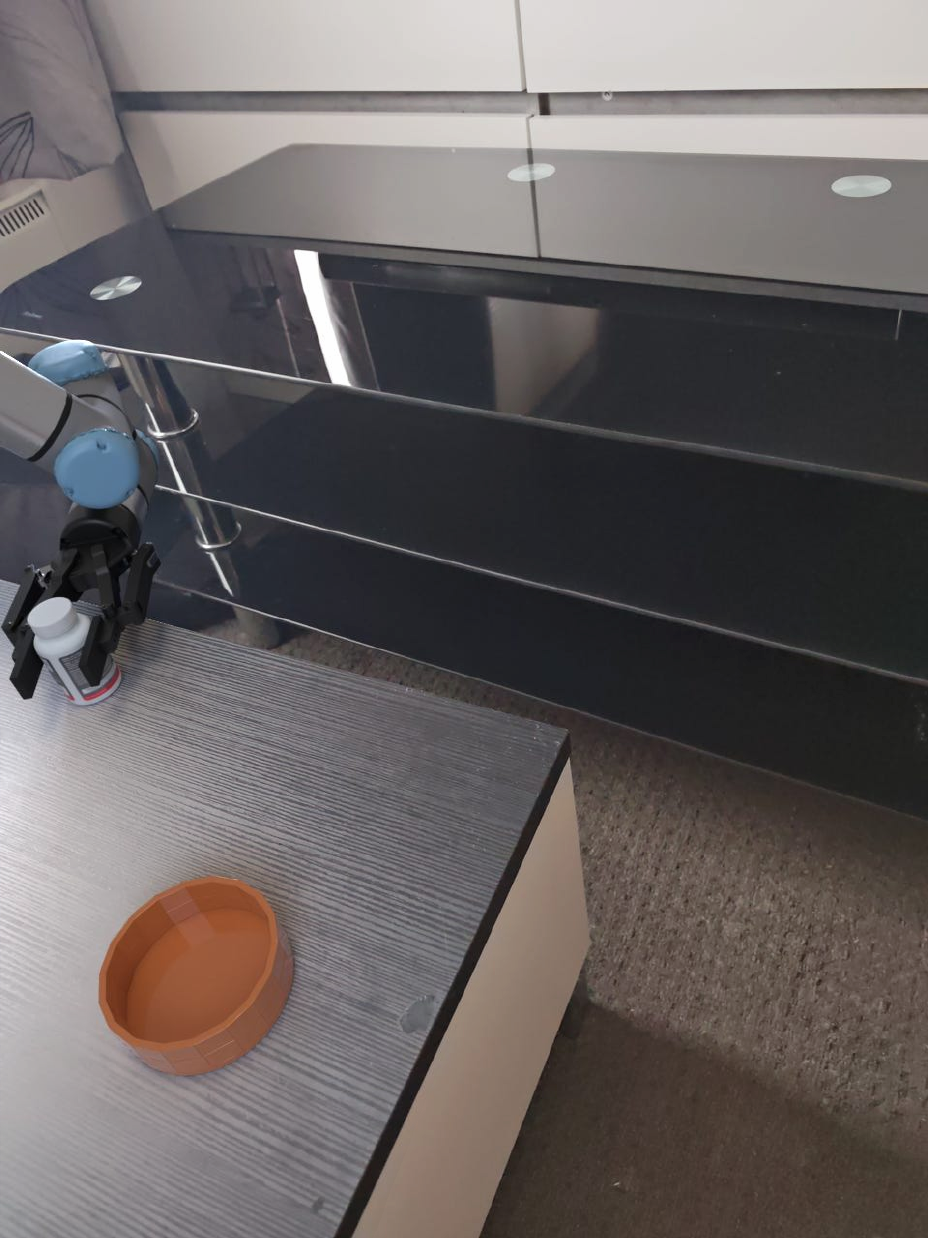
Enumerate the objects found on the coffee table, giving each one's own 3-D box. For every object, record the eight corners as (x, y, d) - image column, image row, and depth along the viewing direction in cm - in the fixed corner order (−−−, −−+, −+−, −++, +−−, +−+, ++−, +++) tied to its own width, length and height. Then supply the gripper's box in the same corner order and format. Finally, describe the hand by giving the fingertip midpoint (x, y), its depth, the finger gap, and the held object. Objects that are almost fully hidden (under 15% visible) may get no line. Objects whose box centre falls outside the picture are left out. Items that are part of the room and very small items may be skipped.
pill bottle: (129, 663, 90) (87, 588, 83) (113, 704, 86) (67, 629, 79) (78, 669, 90) (31, 595, 84) (59, 710, 86) (9, 635, 80)
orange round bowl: (86, 1039, 62) (59, 1012, 59) (192, 886, 69) (173, 856, 67) (229, 1106, 57) (207, 1081, 54) (326, 934, 65) (311, 904, 62)
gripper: (201, 539, 100) (173, 692, 82) (36, 570, 100) (-26, 729, 83) (176, 481, 95) (140, 631, 77) (3, 515, 95) (-71, 672, 78)
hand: (54, 682), depth 80 cm, fingers closed on pill bottle, 5 cm apart
